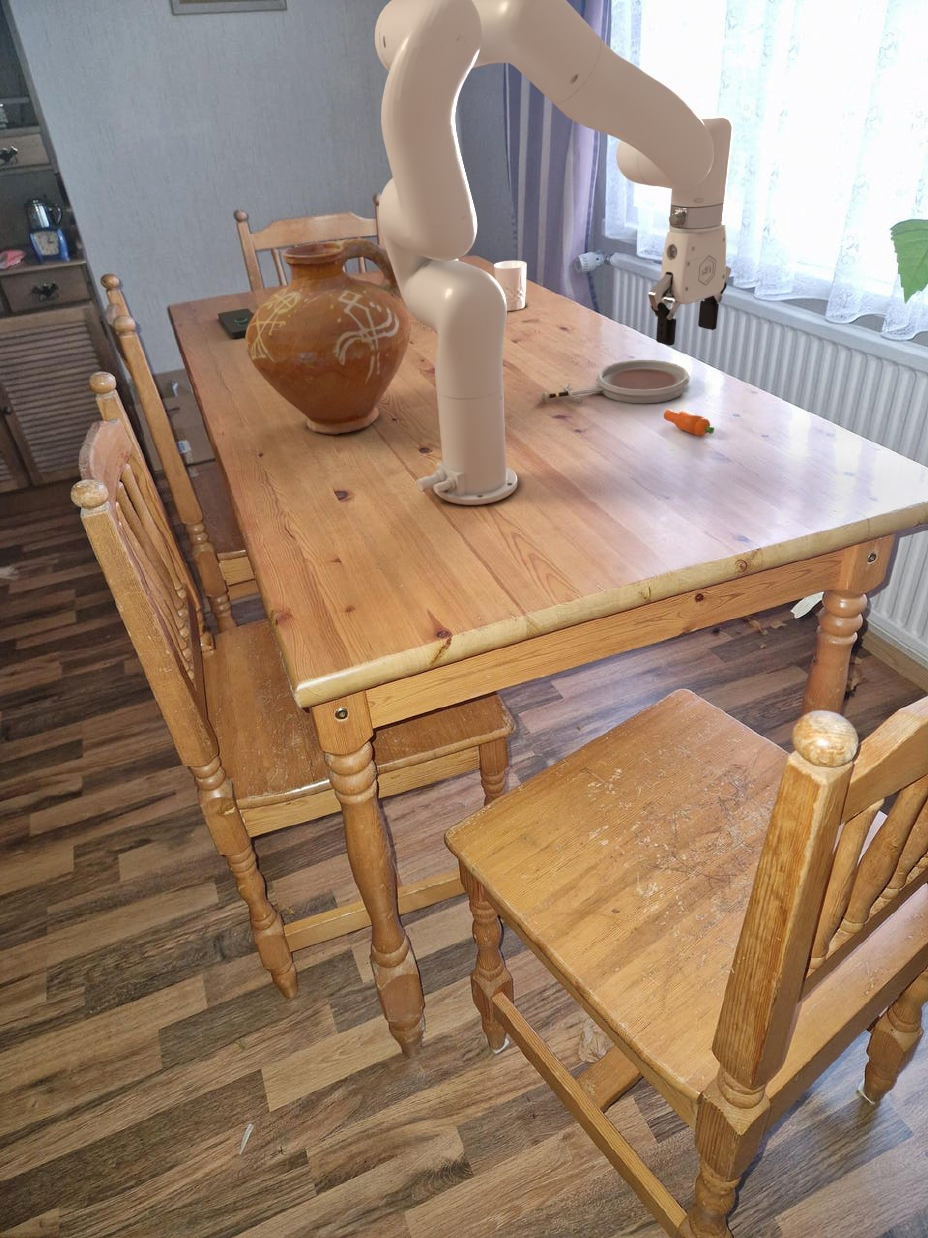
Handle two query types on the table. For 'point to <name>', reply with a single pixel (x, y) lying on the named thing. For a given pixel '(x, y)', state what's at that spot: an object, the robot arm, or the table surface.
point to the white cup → (512, 282)
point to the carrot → (689, 422)
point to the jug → (331, 335)
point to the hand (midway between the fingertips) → (686, 335)
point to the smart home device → (236, 322)
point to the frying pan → (635, 382)
